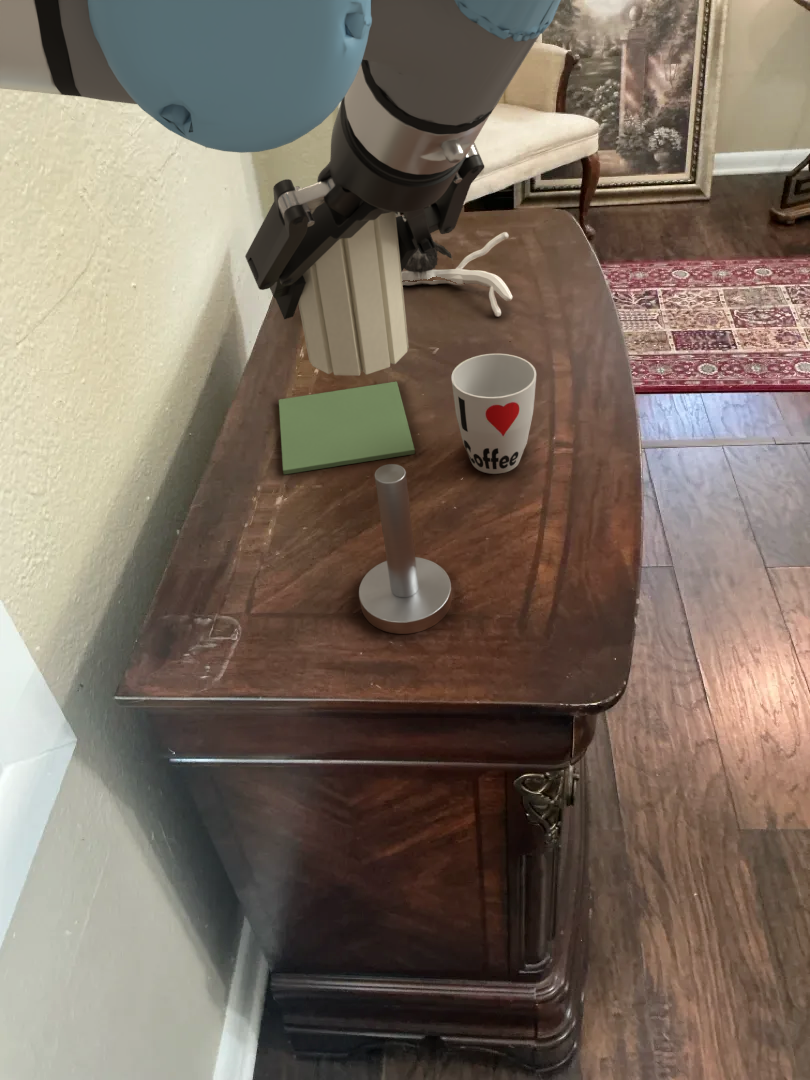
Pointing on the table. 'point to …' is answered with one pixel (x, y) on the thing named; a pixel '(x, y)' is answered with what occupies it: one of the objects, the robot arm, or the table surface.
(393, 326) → the cream slatted holder
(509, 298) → the owl
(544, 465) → the table surface
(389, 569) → the stand
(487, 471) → the cup
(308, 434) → the mat
